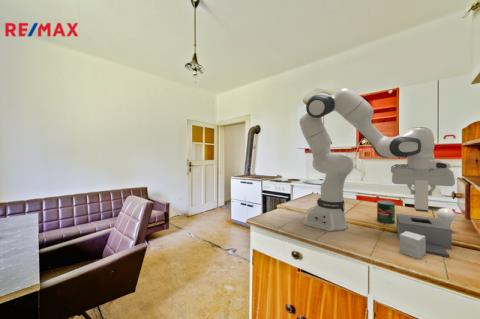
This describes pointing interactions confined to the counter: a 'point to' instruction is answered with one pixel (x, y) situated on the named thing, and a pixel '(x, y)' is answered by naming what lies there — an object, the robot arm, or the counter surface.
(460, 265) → the counter surface
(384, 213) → the canned tomato
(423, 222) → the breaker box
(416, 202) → the beige rectangular block
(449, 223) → the lightbulb
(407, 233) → the product box
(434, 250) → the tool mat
